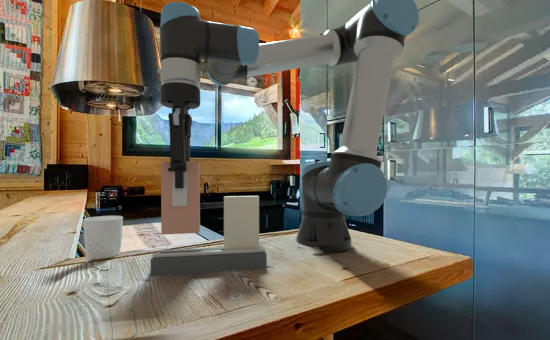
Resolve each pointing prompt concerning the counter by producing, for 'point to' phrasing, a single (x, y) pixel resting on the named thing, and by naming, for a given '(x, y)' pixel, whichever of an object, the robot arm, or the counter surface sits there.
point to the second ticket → (241, 222)
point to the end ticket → (180, 216)
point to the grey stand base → (207, 260)
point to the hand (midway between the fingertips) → (181, 204)
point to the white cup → (102, 236)
